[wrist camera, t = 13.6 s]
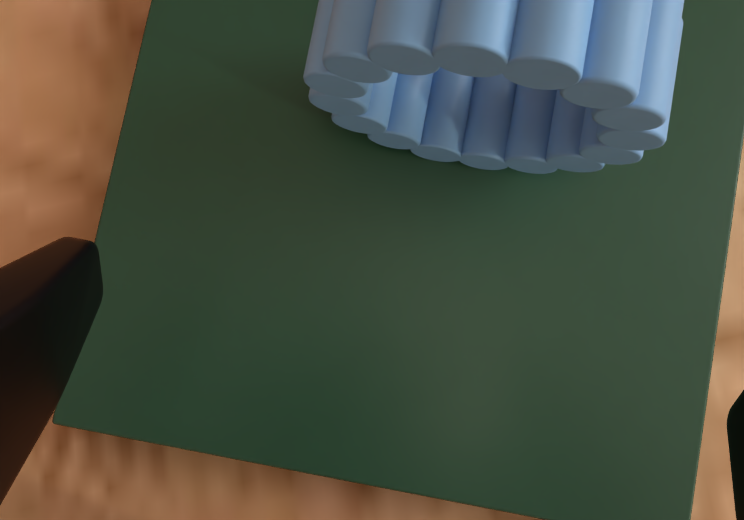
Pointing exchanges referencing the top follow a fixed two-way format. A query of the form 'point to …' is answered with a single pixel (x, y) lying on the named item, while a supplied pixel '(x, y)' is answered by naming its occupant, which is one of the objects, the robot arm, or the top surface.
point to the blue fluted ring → (500, 78)
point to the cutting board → (407, 284)
